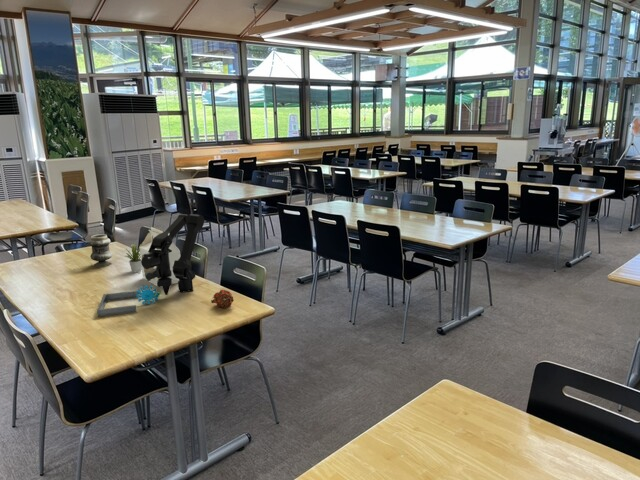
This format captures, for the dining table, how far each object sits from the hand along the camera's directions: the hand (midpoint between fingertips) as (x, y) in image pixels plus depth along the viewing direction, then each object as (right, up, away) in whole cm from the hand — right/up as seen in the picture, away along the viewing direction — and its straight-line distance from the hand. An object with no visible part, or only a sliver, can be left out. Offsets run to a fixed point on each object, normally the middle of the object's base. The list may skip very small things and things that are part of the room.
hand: (166, 294), depth 220 cm
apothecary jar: (-59, +11, +60) cm, 85 cm away
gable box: (-12, +4, +29) cm, 32 cm away
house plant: (-31, +8, +46) cm, 56 cm away
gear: (-7, -3, -3) cm, 8 cm away
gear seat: (-19, -4, -7) cm, 21 cm away
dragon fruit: (+29, -4, -10) cm, 31 cm away
